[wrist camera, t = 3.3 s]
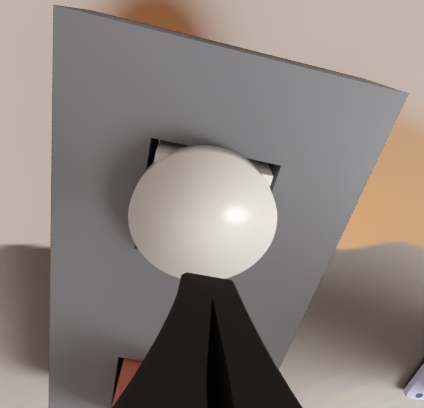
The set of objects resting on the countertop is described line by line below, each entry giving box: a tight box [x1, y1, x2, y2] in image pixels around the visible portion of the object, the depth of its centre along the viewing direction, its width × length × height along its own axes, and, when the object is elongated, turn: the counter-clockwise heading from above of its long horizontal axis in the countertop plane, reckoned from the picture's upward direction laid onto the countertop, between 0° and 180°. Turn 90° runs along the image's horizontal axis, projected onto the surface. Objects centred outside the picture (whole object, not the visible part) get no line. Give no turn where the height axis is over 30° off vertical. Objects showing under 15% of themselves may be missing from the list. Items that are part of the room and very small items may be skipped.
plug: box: [128, 140, 277, 279], centre depth 15 cm, size 6×6×5 cm
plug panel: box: [49, 5, 408, 408], centre depth 18 cm, size 12×24×4 cm, turn 167°
